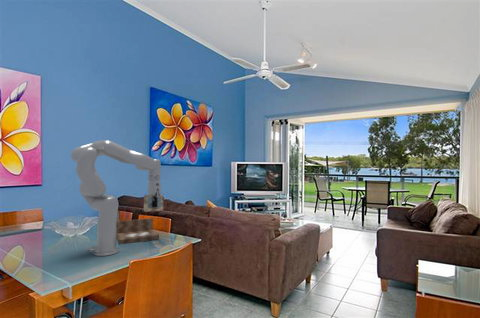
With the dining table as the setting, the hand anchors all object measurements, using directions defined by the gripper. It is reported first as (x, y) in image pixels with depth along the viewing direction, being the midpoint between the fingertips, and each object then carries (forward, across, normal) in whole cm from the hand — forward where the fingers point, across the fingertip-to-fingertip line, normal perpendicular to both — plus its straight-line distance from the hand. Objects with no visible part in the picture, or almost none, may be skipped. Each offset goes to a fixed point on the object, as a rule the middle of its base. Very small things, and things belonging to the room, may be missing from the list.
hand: (153, 206), depth 174 cm
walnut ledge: (+22, +13, +5) cm, 26 cm away
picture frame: (+3, 0, 0) cm, 3 cm away
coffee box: (+22, +35, +15) cm, 44 cm away
